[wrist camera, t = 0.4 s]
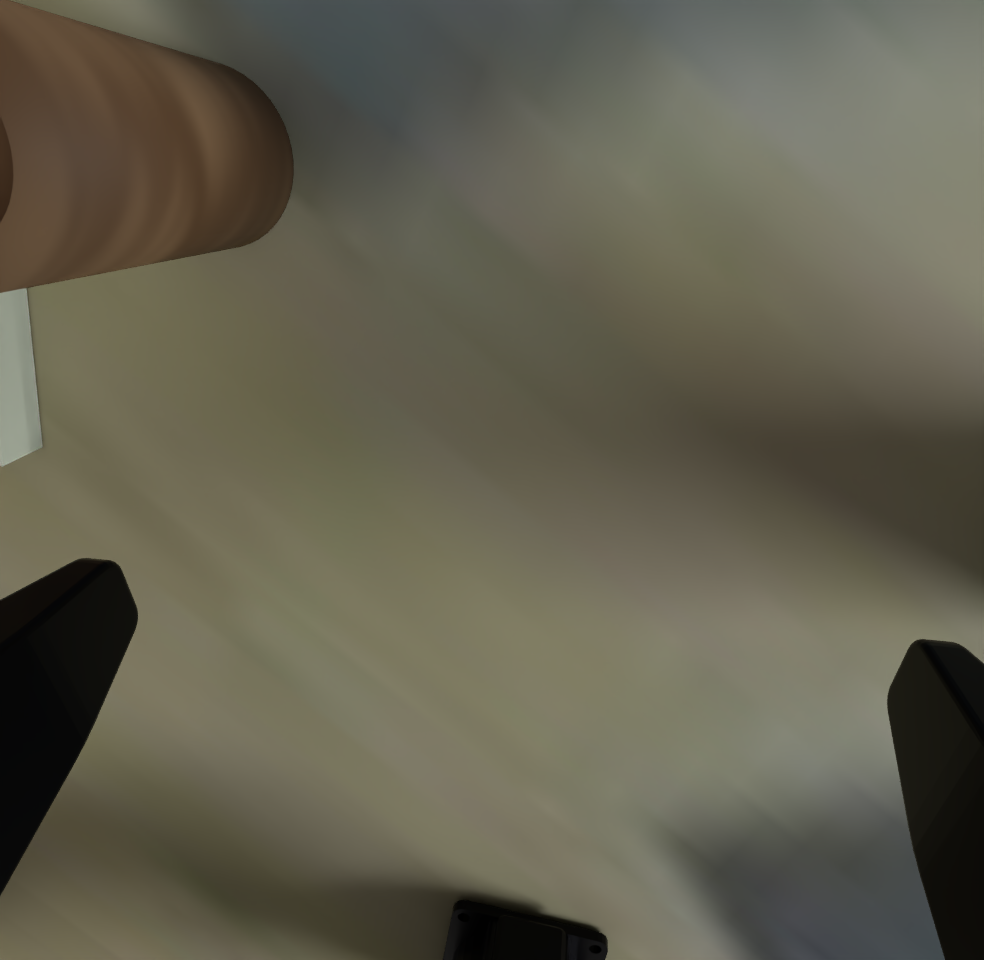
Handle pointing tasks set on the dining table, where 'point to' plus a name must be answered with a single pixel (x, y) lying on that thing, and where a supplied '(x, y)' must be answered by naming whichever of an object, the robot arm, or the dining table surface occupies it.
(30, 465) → the dining table surface
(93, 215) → the pepper mill
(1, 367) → the keeper dish
